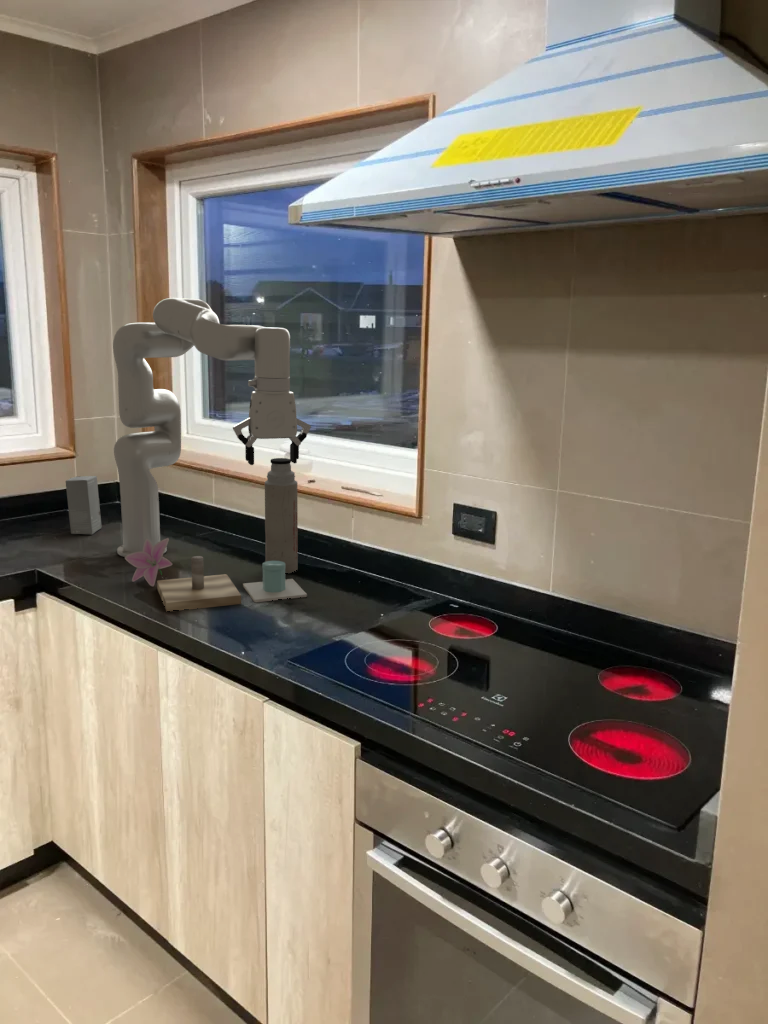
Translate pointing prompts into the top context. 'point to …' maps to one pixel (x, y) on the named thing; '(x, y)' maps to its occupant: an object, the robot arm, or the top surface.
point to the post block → (198, 590)
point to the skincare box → (83, 504)
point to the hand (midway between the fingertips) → (272, 463)
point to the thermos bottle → (281, 515)
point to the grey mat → (260, 595)
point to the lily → (149, 561)
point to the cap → (273, 576)
